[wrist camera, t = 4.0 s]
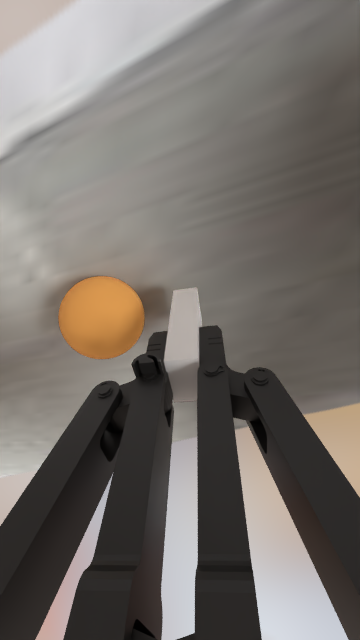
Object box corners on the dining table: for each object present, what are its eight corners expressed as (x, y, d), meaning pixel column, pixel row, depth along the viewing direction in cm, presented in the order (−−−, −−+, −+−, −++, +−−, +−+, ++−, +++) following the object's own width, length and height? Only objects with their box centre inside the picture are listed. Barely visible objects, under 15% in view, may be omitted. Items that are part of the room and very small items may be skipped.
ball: (140, 258, 19) (121, 298, 15) (157, 323, 22) (145, 374, 18) (66, 267, 20) (25, 308, 16) (91, 329, 23) (64, 379, 19)
